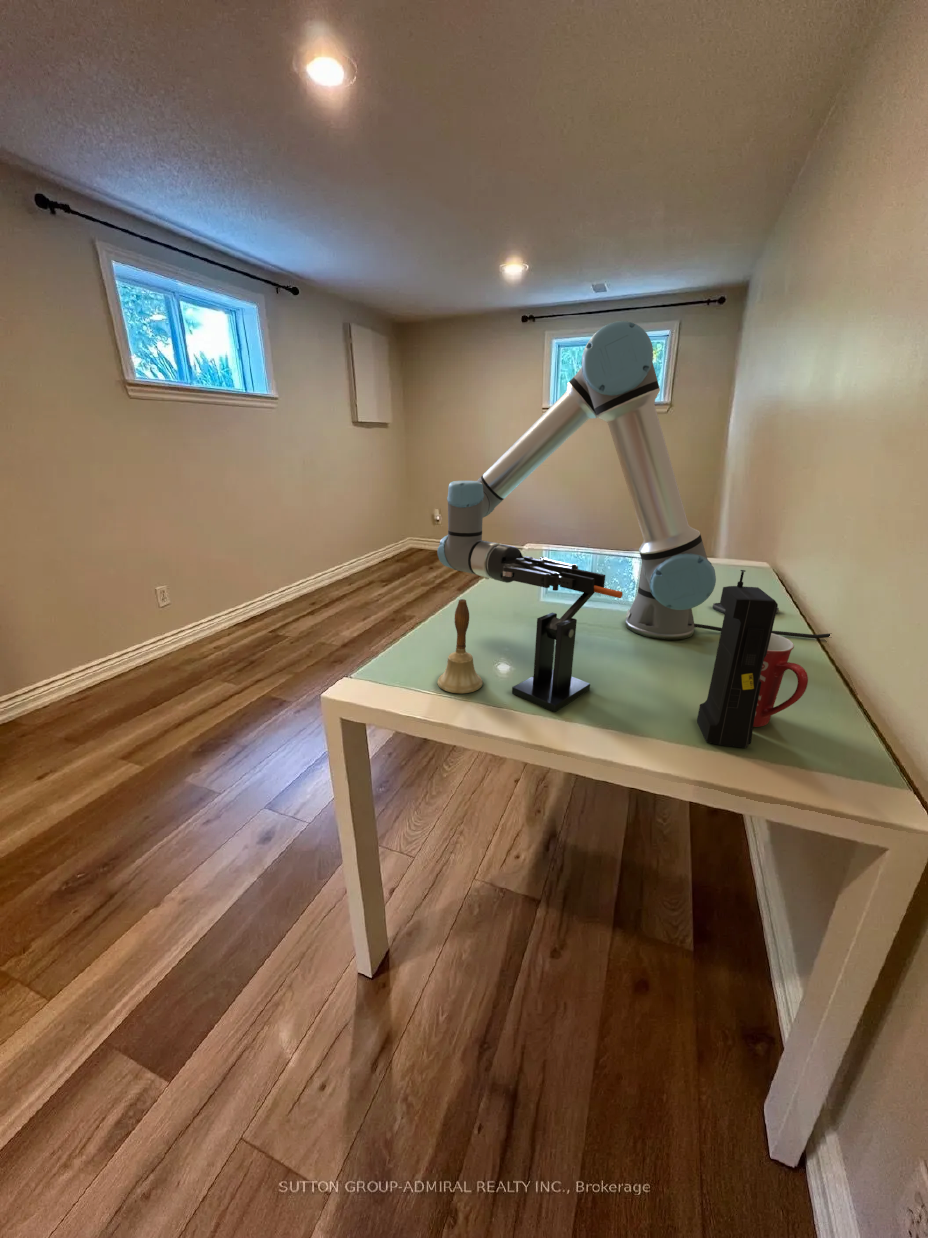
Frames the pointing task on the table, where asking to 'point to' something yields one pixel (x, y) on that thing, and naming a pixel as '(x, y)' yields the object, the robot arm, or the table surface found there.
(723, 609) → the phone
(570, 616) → the switch lever
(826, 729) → the table surface
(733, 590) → the portable radio
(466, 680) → the hand bell
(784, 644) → the mug
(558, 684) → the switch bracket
